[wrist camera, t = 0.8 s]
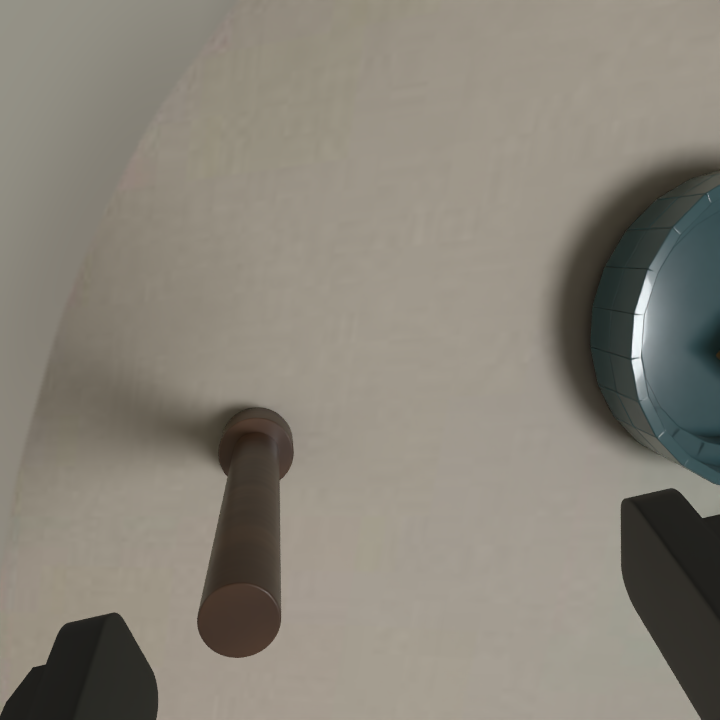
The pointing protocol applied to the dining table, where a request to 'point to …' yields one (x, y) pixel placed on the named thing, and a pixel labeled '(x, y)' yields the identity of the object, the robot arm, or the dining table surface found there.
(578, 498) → the dining table surface
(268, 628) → the muddler
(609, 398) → the bowl
